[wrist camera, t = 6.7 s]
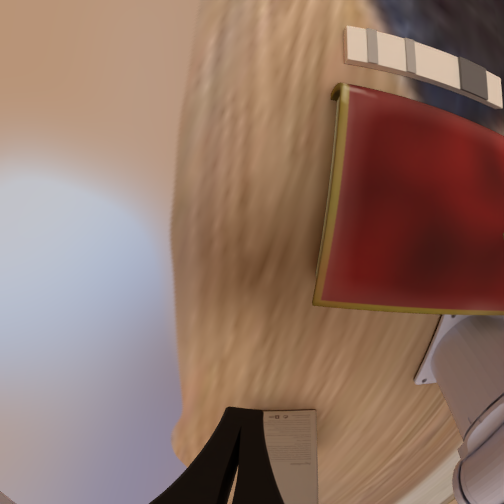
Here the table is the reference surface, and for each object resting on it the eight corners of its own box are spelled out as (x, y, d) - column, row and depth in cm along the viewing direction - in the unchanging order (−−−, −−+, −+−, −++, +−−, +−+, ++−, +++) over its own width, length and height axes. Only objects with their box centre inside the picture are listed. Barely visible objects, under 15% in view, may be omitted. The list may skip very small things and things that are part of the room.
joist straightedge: (492, 79, 12) (502, 77, 10) (494, 109, 13) (504, 108, 11) (343, 31, 13) (347, 23, 12) (344, 63, 14) (348, 57, 12)
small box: (248, 409, 24) (225, 533, 12) (316, 408, 23) (319, 536, 11) (256, 449, 27) (240, 548, 14) (312, 449, 26) (311, 549, 14)
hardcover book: (330, 92, 15) (343, 75, 11) (545, 168, 13) (576, 176, 9) (308, 275, 19) (312, 308, 15) (515, 294, 17) (540, 316, 14)
